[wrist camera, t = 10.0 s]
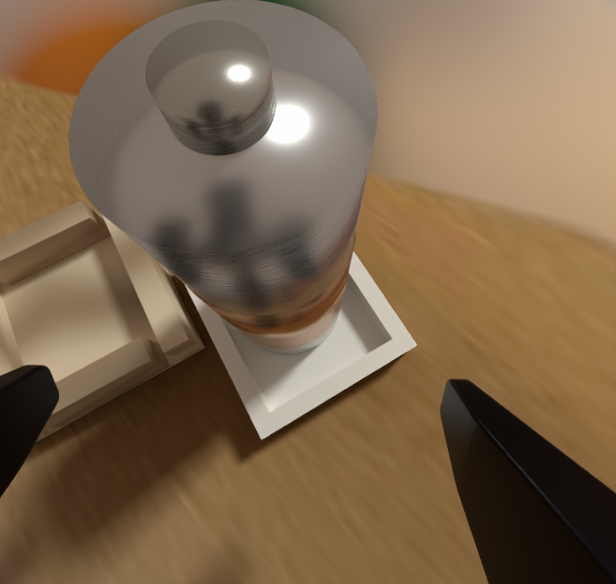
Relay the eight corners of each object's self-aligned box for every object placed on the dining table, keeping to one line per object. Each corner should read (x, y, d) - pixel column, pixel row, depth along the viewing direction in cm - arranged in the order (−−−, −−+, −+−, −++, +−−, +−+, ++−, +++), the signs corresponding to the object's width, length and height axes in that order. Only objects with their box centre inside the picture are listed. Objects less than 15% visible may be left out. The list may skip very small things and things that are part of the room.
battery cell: (345, 352, 17) (418, 210, 4) (239, 360, 17) (-5, 246, 4) (335, 253, 19) (365, -70, 6) (237, 261, 19) (53, -40, 6)
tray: (407, 350, 18) (417, 345, 16) (267, 436, 17) (261, 440, 15) (308, 201, 20) (307, 183, 19) (183, 267, 19) (169, 253, 18)
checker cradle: (205, 347, 18) (188, 339, 16) (28, 446, 17) (-20, 454, 14) (138, 209, 21) (114, 184, 18) (-19, 286, 19) (-66, 270, 17)
